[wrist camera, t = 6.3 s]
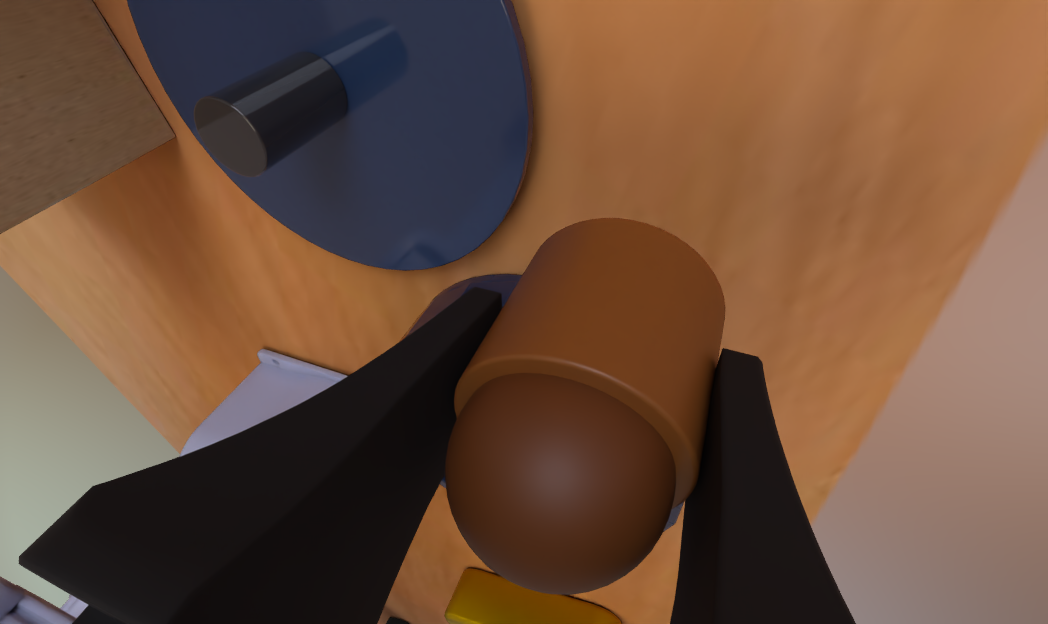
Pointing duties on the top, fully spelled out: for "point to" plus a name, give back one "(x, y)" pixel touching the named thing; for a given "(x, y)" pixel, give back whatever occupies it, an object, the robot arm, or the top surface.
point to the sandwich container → (65, 105)
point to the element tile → (516, 604)
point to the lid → (356, 115)
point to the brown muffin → (586, 407)
